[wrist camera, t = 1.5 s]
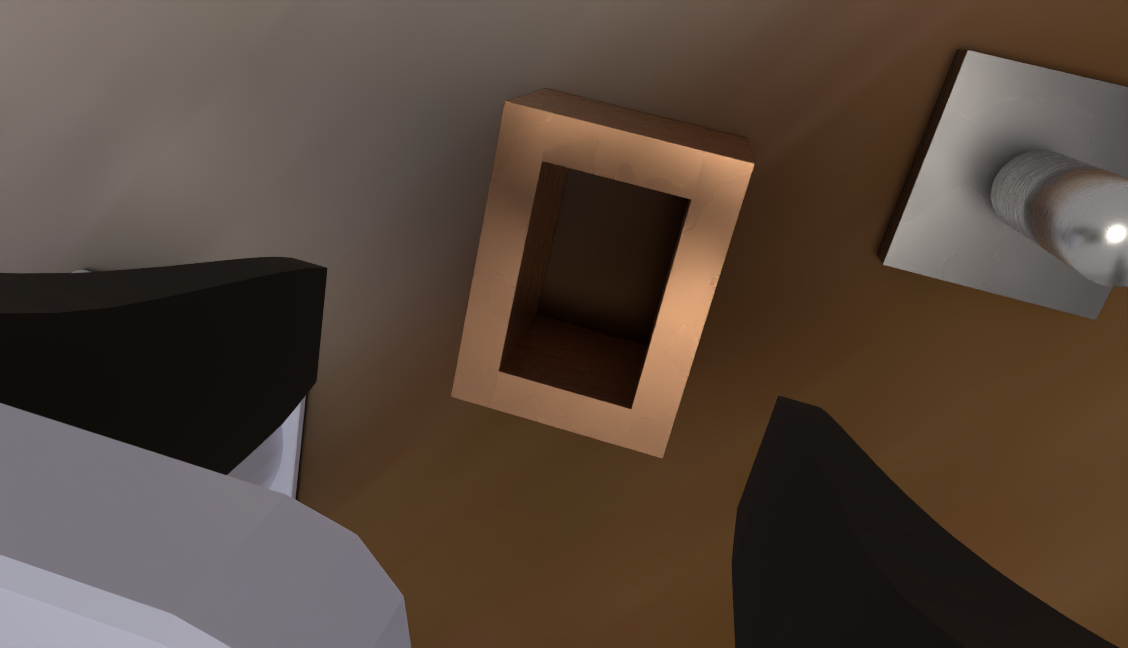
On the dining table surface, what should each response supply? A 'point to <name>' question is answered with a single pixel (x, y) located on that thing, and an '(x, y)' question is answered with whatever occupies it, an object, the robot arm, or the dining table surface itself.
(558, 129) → the copper rectangular sleeve
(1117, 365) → the dining table surface
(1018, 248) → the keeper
